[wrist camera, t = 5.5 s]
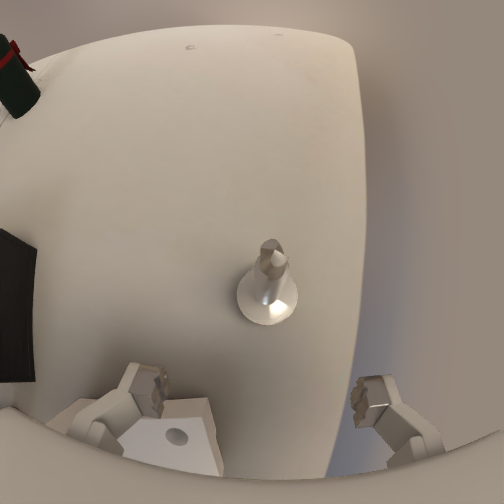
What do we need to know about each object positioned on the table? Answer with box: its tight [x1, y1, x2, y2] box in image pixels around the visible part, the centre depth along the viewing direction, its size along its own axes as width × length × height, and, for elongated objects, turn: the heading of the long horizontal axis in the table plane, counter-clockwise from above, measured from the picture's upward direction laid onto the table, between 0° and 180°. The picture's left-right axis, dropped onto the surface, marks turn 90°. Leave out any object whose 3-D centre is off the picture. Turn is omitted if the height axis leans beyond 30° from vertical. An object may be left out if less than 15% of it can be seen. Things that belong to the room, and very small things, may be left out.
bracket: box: [44, 397, 224, 477], centre depth 17 cm, size 13×7×8 cm, turn 99°
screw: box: [237, 239, 298, 325], centre depth 18 cm, size 13×5×5 cm
